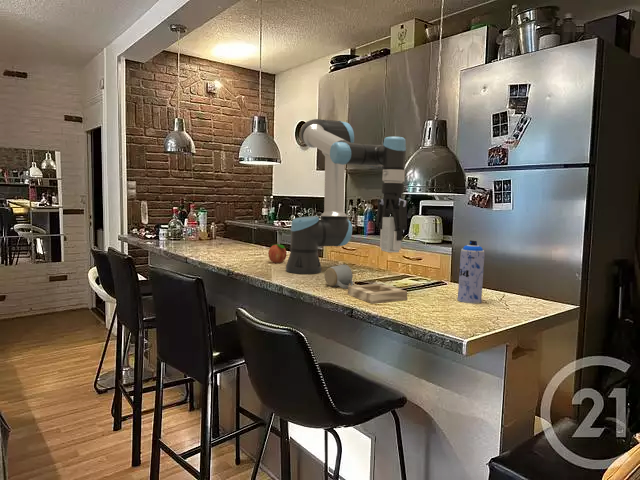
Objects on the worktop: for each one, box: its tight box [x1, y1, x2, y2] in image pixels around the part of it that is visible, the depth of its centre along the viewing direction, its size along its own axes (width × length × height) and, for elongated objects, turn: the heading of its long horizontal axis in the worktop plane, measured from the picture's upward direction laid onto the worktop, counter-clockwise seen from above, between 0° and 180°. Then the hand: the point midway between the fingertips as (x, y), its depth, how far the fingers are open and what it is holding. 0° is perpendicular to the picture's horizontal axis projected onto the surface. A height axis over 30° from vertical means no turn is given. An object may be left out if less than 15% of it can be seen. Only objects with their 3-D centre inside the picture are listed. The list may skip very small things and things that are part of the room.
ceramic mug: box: [324, 264, 354, 290], centre depth 172 cm, size 11×8×8 cm
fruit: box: [268, 241, 287, 264], centre depth 224 cm, size 9×10×10 cm
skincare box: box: [380, 216, 400, 253], centre depth 165 cm, size 6×4×12 cm
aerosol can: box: [456, 240, 485, 305], centre depth 155 cm, size 8×8×20 cm
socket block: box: [347, 283, 408, 304], centre depth 157 cm, size 14×14×3 cm
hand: (390, 248), depth 165 cm, fingers closed on skincare box, 7 cm apart
